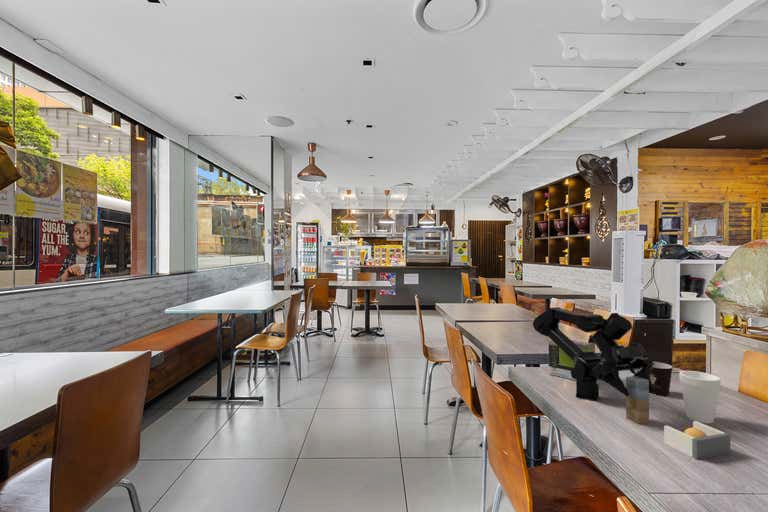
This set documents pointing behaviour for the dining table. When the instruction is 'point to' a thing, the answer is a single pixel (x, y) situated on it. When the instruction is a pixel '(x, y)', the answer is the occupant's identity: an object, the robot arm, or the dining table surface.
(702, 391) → the foam cup
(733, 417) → the dining table surface
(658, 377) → the coffee mug
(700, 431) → the ball
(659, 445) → the dining table surface
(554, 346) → the tea box
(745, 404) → the dining table surface
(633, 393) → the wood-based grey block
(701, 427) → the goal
